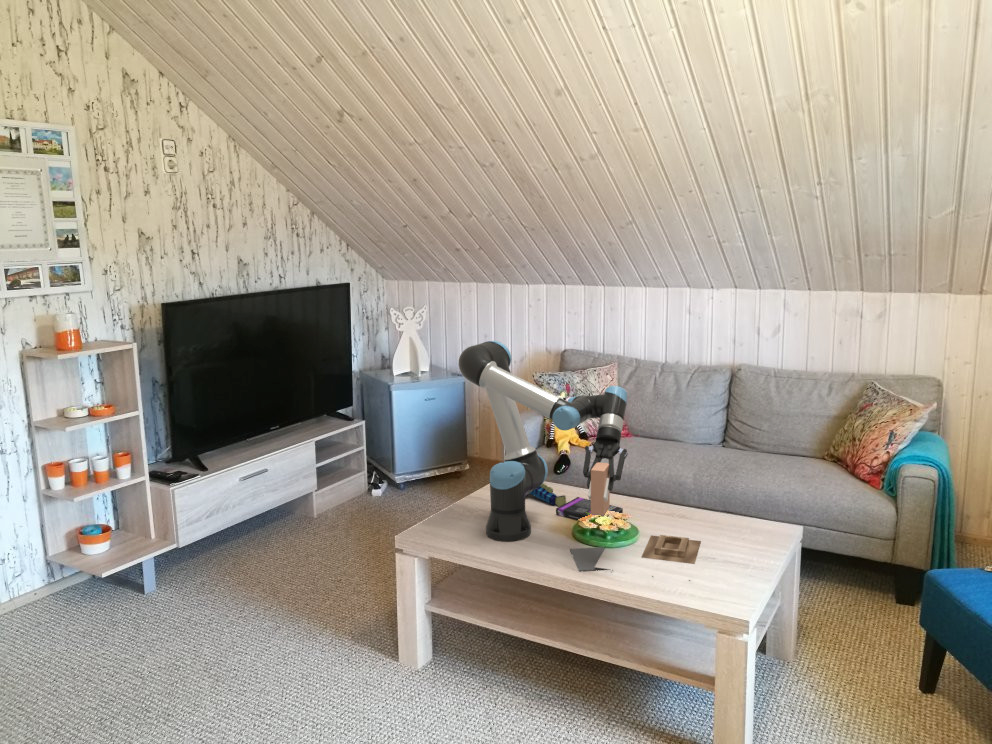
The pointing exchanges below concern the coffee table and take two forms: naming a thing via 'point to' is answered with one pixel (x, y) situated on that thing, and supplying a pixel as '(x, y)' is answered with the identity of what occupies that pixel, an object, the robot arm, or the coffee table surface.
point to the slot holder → (672, 549)
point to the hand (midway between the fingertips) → (597, 498)
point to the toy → (548, 495)
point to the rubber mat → (587, 558)
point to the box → (580, 509)
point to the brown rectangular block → (599, 489)
